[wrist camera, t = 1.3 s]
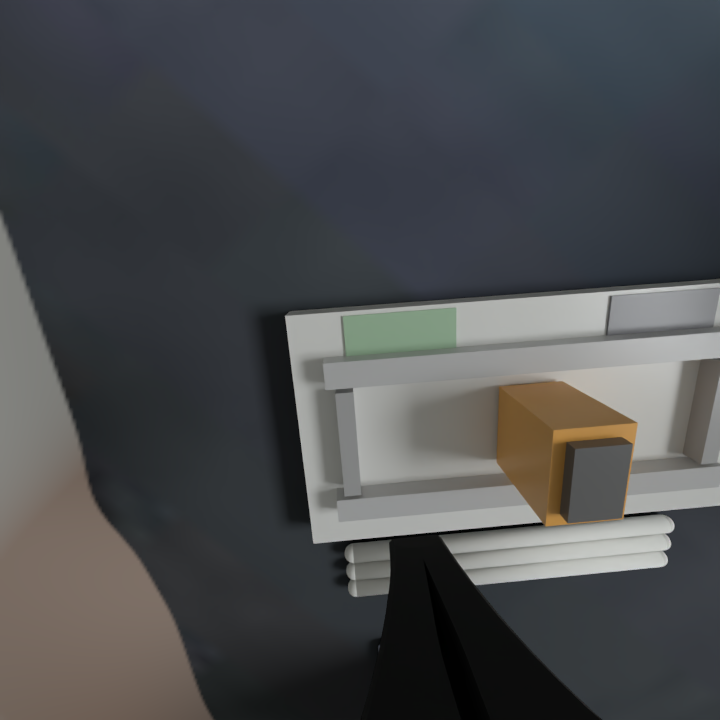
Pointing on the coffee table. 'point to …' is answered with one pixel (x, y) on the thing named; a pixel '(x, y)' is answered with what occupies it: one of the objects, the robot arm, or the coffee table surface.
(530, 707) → the robot arm
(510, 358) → the white flat tray
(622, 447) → the lever
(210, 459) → the coffee table surface
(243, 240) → the coffee table surface
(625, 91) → the coffee table surface
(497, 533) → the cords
